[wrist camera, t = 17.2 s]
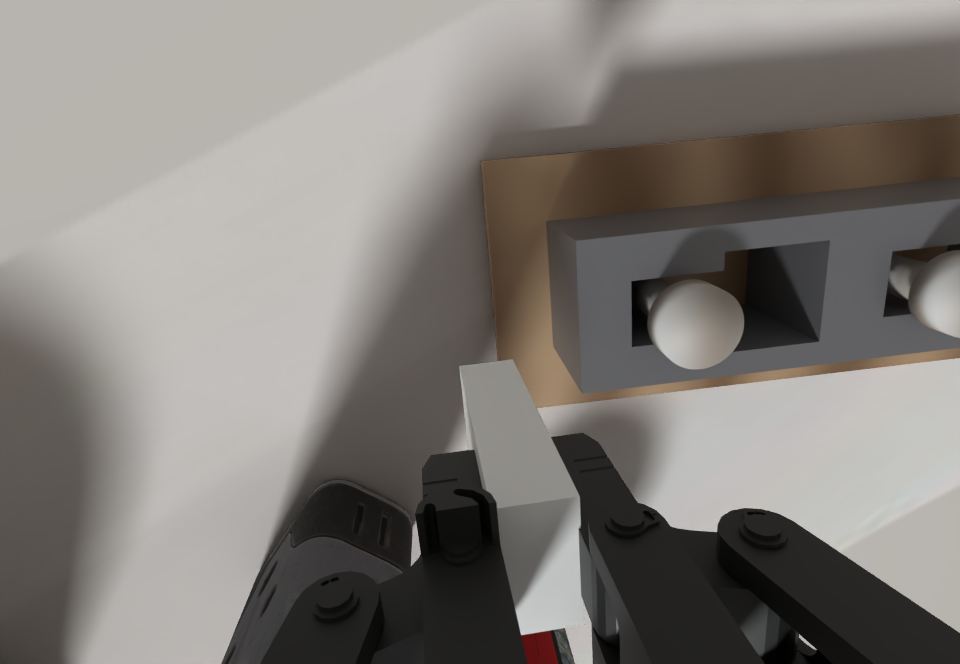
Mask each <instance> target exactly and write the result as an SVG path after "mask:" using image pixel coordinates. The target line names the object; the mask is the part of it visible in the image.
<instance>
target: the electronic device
mask: <svg viewBox="0 0 960 664" xmlns="http://www.w3.org/2000/svg"><path fill="white" fill-rule="evenodd" d="M411 548H412V520H411V518H410V516H409V514H408V513H407V512H406V511H405V510H404V509H403V508H401V507H400V506H398V505H397V504H395V503H393V502H391V501H389V500H387V499H385V498H383V497H381V496H379V495H377V494H375V493H373V492H371V491H369V490H367V489H365V488H363V487H361V486H359V485H357V484H355V483H352V482H349V481H344V480H332V481H329V482H326V483H324V484H322V485H320V486H319V487H317V488H316V489H315V490H314V492H313V493H312V494H311V495H310V496H309V498H308V499H307V501H306V502H305V504H304V505H303V507H302V508H301V510H300V511H299V513H298V514H297V516H296V517H295V519H294V520H293V522H292V523H291V525H290V526H289V528H288V529H287V531H286V532H285V534H284V535H283V537H282V538H281V540H280V541H279V543H278V544H277V546H276V547H275V549H274V550H273V552H272V553H271V555H270V556H269V558H268V559H267V561H266V562H265V564H264V565H263V567H262V568H261V570H260V572H259V574H258V576H257V578H256V580H255V583H254V585H253V588H252V590H251V592H250V595H249V597H248V600H247V602H246V605H245V607H244V609H243V612H242V614H241V617H240V619H239V622H238V624H237V626H236V629H235V631H234V634H233V636H232V639H231V642H230V644H229V646H228V649H227V651H226V654H225V656H224V659H223V661H222V664H260V663H261V661H262V659H263V657H264V656H265V654H266V652H267V650H268V649H269V647H270V645H271V643H272V641H273V640H274V638H275V636H276V634H277V632H278V631H279V629H280V627H281V625H282V624H283V622H284V620H285V618H286V616H287V615H288V613H289V611H290V609H291V607H292V606H293V604H294V602H295V601H296V599H297V598H298V597H299V596H300V594H301V593H302V592H303V591H304V590H305V589H306V588H307V587H309V586H310V585H311V584H313V583H314V582H316V581H317V580H318V579H321V578H323V577H326V576H328V575H331V574H334V573H339V572H347V571H353V572H359V573H365V574H366V575H368V576H369V577H371V578H372V579H374V580H375V582H376V584H379V583H382V582H384V581H387V580H389V579H392V578H394V577H395V576H397V575H399V574H401V573H403V572H404V571H406V570H407V569H408V568H410V567H411Z"/></svg>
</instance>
